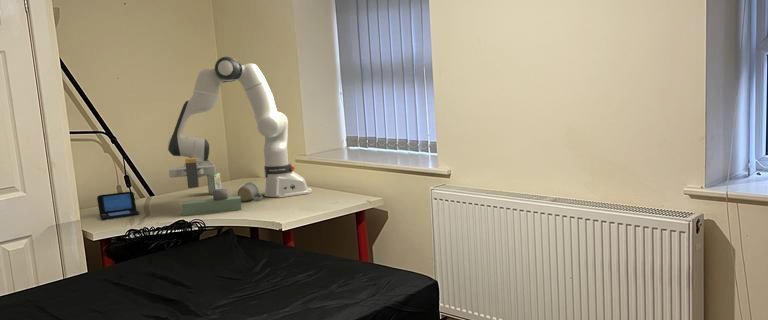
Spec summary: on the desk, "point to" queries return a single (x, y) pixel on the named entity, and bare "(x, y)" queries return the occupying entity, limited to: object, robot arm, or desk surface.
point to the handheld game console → (117, 205)
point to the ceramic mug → (249, 192)
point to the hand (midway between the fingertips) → (192, 173)
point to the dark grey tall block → (192, 172)
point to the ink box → (213, 182)
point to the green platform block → (212, 204)
